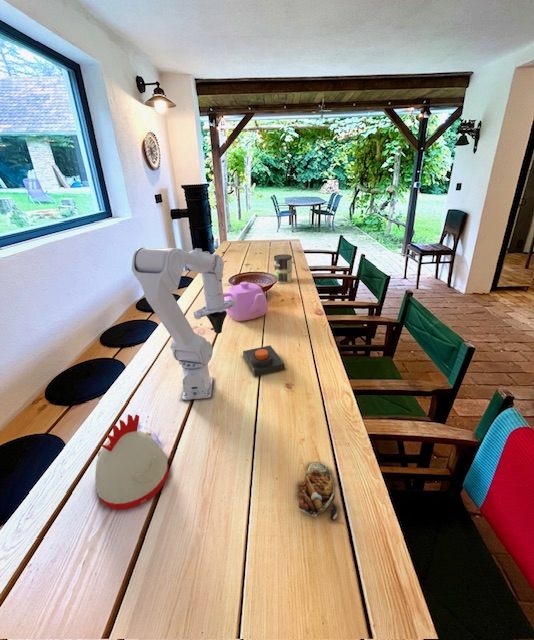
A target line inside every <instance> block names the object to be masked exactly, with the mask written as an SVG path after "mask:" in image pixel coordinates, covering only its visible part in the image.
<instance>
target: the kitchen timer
mask: <svg viewBox="0 0 534 640" xmlns="http://www.w3.org/2000/svg"><path fill="white" fill-rule="evenodd" d="M118 421H119V427H118V426H117V425H116V424H114V423H113V424H112V432H113V433H112V434H113V435H111V434H109V433H106V434H105V435H106V437H107V440H106V442H105V443H104V444H103V443H101V444H100V446H101V447H102V448H101V450H99V451H98V452H97V460H96V465H95V477H94V478H95V481H94V483H95V491H96V494H97V496H98V499H99V501H100V502H101V504H102V505H104V506H105V507H107V508H109V509H111V510H117V511H118V510H119V511H120V510H129V509H133V508H136V507H139V506H141V505H142V504H145V503H146V502H148V501H149V500H151V499H153V497H154V496H156V495H157V494H158V493H159V492H160V491H161V489H162V488H163V487H164V485H165V484H166V481H167V478H168V477H169V470H170V469H169V468H170V467H169V464H168V460H167V456H166V453H165V452H164V450H163V449H162V447H161V446H160V445H159V444H158V442H157V441H156V440H155V439H154V438H153V437H152V435H151V433H150V432H144V431H142V430H140V429H138V428H139V423H140V415H138V414H135V415H134V418H133V415H132V414H127V421H126V422H125V421H124V420H122V419H119V420H118Z"/></svg>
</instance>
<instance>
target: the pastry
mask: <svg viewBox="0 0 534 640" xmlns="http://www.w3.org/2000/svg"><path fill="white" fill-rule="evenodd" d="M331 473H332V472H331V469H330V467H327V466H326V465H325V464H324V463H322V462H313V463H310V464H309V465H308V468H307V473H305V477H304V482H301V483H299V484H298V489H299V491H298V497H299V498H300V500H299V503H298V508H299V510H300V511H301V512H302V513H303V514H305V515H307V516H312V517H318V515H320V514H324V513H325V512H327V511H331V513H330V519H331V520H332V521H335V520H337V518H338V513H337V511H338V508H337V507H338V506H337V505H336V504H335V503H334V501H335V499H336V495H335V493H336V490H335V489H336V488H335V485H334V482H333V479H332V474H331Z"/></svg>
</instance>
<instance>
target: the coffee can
mask: <svg viewBox="0 0 534 640" xmlns="http://www.w3.org/2000/svg"><path fill="white" fill-rule="evenodd" d="M273 265H274V266H273V269H274V270H273V271H274V276H276V277H277V279H278V281H277V282H276V283H277V284H288V283H291V282H292V281H293V256H292V254H276V255H274V256H273Z"/></svg>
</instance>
